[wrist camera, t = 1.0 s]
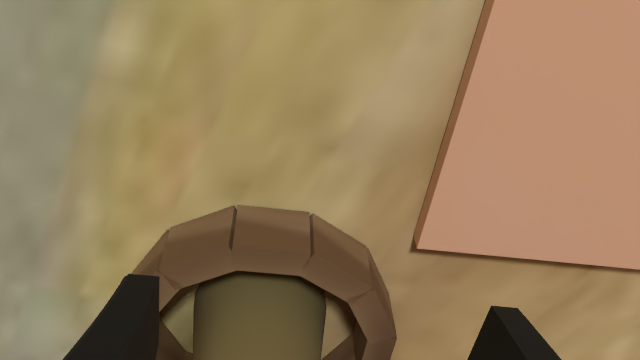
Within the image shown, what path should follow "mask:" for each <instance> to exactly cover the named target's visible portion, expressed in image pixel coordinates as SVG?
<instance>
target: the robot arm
mask: <svg viewBox="0 0 640 360" xmlns="http://www.w3.org/2000/svg"><path fill="white" fill-rule="evenodd" d="M159 279H160V276H149V275H138V274H128V275H127V276H125V277H124V278H123V280H122V281H121V283H120V285H119V286H118V288H117V289H116V291H115V292H114V294H113V295H112V297H111V298H110V300H109V301H108V303H107V304H106V305H105V307H104V308H103V310H102V311H101V312H100V314H99V315H98V316H97V318H96V319H95V320H94V322H93V323H92V324H91V326H90V327H89V328H88V329H87V330H86V332H85V333H84V334H83V335H82V337H81V338H80V339H79V340H78V342H77V343H76V344H75V345H74V347H73V348H72V349H71V350H70V352H69V353H68V354H67V355H66V356H65V357H64V359H63V360H156V355H157V350H158V344H159ZM468 360H561V359H560V357H559V356H558V355H557V354H556V353H555V352H554V350H553V349H552V348H551V347H550V346H549V344H548V343H547V342H546V341H545V340H544V339H543V337H542V336H541V335H540V334H539V333H538V331H537V330H536V329H535V328H534V327H533V325H532V324H531V323H530V322H529V321H528V320H527V318H526V317H525V316H524V315H523V314H522V313H521V312H520V310H519V309H518V308H510V307H499V306H491V308H490V310H489V312H488V314H487V317H486V319H485V321H484V323H483V326H482V328H481V330H480V332H479V335H478V337H477V339H476V341H475V344H474V346H473V348H472V350H471V353H470V355H469V357H468Z"/></svg>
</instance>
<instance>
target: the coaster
mask: <svg viewBox="0 0 640 360" xmlns="http://www.w3.org/2000/svg"><path fill="white" fill-rule="evenodd" d="M414 239H415V243H416V247H417V249H428V250H438V251H449V252H460V253H470V254H481V255H491V256H502V257H513V258H523V259H534V260H544V261H555V262H566V263H576V264H587V265H597V266H608V267H619V268H629V269H640V0H486V1H485V4H484V7H483V10H482V14H481V17H480V20H479V23H478V27H477V30H476V33H475V37H474V40H473V43H472V46H471V50H470V53H469V56H468V60H467V63H466V66H465V69H464V73H463V76H462V79H461V83H460V86H459V89H458V92H457V96H456V99H455V102H454V105H453V109H452V112H451V115H450V119H449V122H448V125H447V128H446V132H445V135H444V138H443V142H442V145H441V148H440V151H439V155H438V158H437V161H436V164H435V168H434V171H433V174H432V178H431V181H430V184H429V187H428V191H427V194H426V197H425V201H424V204H423V207H422V210H421V214H420V217H419V220H418V223H417V227H416V230H415V233H414Z"/></svg>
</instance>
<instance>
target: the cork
mask: <svg viewBox="0 0 640 360" xmlns="http://www.w3.org/2000/svg"><path fill="white" fill-rule="evenodd" d="M325 316H326V302H325V296H324V292H323V291H322V289H321V288H320V287H319V286H317V285H315V284H314V283H312V282H310V281H308V280H306V279H305V278H303V277H301V276H295V275H284V274H272V273H261V272H249V271H238V270H236V271H233V272H230V273H227V274H224V275H221V276H218V277H215V278H212V279H209V280H206V281H203V282H202V283H201V284H200V286H199V288H198V290H197V291H196V293H195V301H194V325H193V360H321V351H322V342H323V334H324V325H325Z"/></svg>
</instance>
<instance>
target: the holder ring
mask: <svg viewBox="0 0 640 360" xmlns="http://www.w3.org/2000/svg"><path fill="white" fill-rule="evenodd" d="M236 270H238V271H249V272H261V273H272V274H284V275H295V276H301V277H303V278H305V279H306V280H308V281H310V282H312V283H314V284H315V285H317V286H319V287H321V288H323V289H324V290H326V291H328V292H330V293H332V294H333V295H335V296H337V297H339V298H341V299H342V300H344V301H346V302H348V304H349V306H350V307H351V309H352V311H353V313H354V315H355V317H356V322H355V326H354V330H353V333H352V335H350V336H349V337H348V338H347V339H346V340H345V341H343V342H342V343H341V344H340V345H339V346H338V347H336V348H335V349H334V350H333V351H332V352H331V353H329V354H328V355H327V356H326V357H325V358H324V359H322V360H390V358H391V355H392V352H393V348H394V345H395V342H396V339H397V338H396V330H395V325H394V320H393V314H392V309H391V303H390V298H389V293H388V291H387V289H386V286H385V284H384V282H383V280H382V278H381V276H380V273H379V271H378V269H377V267H376V265H375V262H374V260H373V258H372V256H371V254H370V251H369V249H366V246H365V245H363V244H362V243H360V242H358V241H357V240H355V239H354V238H352V237H350V236H349V235H347V234H345V233H344V232H342V231H340V230H339V229H337V228H336V227H334V226H332V225H331V224H329V223H327V222H326V221H324V220H323V219H321V218H319V217H318V216H316V215H314V214H312V215H311V216H310V217H309V212H301V211H291V210H281V209H271V208H261V207H250V206H240V205H238V208H237V210H236V208H235V206H232V207H229V208H226V209H223V210H220V211H217V212H214V213H212V214H209V215H206V216H203V217H200V218H197V219H194V220H191V221H188V222H186V223H183V224H180V225H177V226H174V227H171V228H170V230H167V231H166V232H165V233H164V234H163V236H162V237H161V238H160V239H159V241H158V242H157V243H156V244H155V245H154V247H153V248H152V249H151V250H150V251H149V253H148V254H147V255H146V256H145V258H144V259H143V260H142V261H141V262H140V264H139V265H138V266H137V267H136V268H135V270H134V271H133V273H132V274H138V275H149V276H160V279H159V344H158V350H157V355H156V360H193V354H190V353H188V352H186V351H185V350H184V349H183V348H182V346H181V345H180V344H179V342H178V341H177V340H176V339H175V337H174V336H173V335H172V334H171V332H170V331H169V330H168V329H167V327H166V326H165V325H164V323H163V322H162V321H161V320H160V311H161V310H162V308H163V307H164V306H165V305H166V304H167V303H168V302H169V301H170V300H171V298H172V297H173V296H174V295H175V294H176V293H177V292H178V291H179V290H180V289H181V288H184V287H187V286H190V285H193V284H197V283H200V282H203V281H206V280H209V279H212V278H215V277H218V276H221V275H224V274H227V273H230V272H233V271H236Z"/></svg>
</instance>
